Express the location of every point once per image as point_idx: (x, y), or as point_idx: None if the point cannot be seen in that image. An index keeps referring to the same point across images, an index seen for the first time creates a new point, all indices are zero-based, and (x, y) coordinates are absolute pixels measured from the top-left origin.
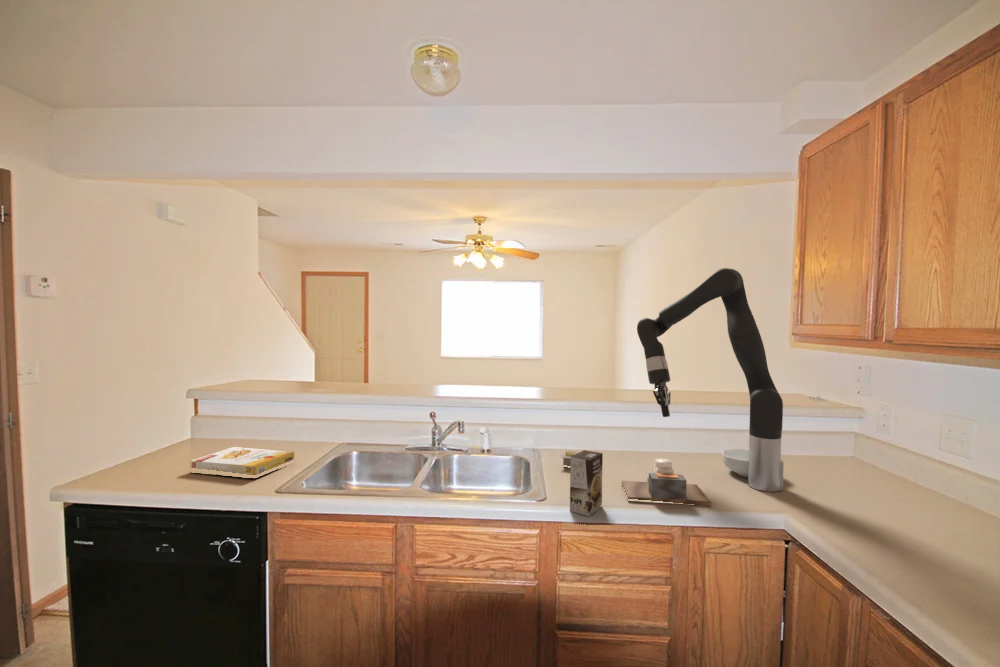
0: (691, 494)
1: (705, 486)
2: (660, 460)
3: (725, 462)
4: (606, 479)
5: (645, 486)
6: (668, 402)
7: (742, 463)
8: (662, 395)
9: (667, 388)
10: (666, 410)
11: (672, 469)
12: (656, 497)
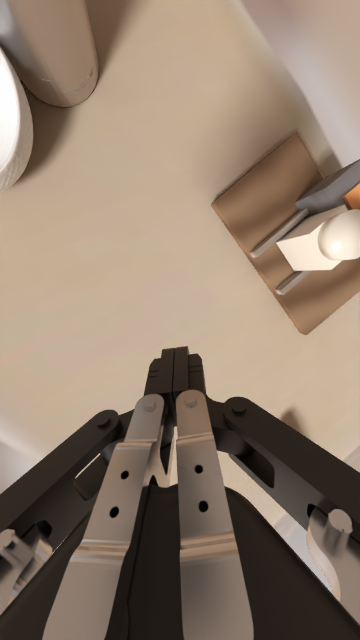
0: (285, 183)
1: (177, 195)
2: (354, 243)
3: (15, 177)
4: (291, 371)
5: (305, 282)
6: (117, 426)
7: (23, 97)
8: (304, 467)
9: (89, 625)
10: (192, 372)
11: (341, 209)
12: None
